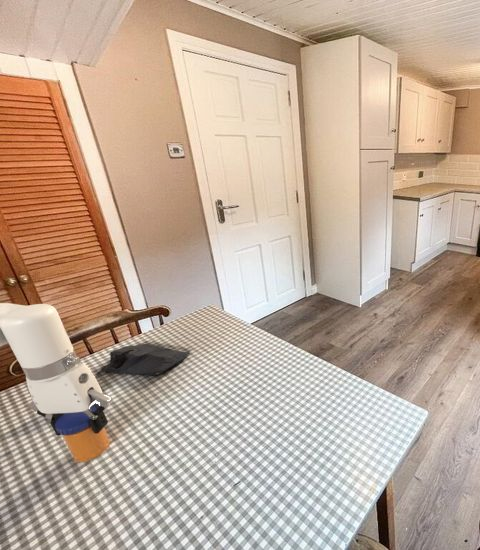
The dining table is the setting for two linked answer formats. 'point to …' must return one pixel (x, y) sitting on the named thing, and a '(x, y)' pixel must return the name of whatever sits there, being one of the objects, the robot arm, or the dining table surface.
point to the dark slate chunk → (143, 359)
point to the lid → (73, 422)
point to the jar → (86, 444)
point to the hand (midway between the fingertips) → (83, 428)
